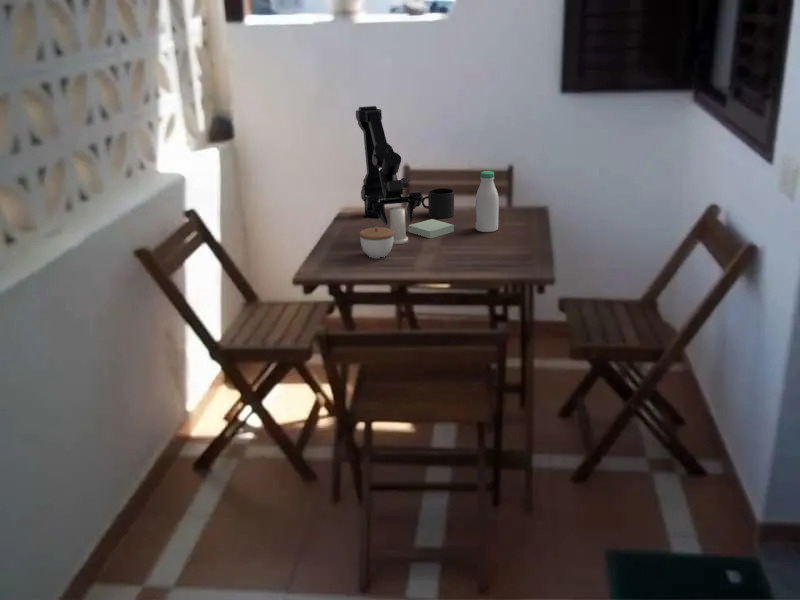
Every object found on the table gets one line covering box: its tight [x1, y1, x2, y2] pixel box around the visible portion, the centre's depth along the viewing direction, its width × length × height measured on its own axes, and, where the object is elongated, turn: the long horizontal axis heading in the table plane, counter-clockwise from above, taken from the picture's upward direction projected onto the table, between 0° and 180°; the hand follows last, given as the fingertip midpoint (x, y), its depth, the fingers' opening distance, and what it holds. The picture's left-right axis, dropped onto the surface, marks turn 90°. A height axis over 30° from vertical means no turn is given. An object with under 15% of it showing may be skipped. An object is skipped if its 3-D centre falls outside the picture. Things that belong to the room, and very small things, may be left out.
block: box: [408, 218, 455, 239], centre depth 298 cm, size 11×11×2 cm
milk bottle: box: [475, 170, 499, 233], centre depth 296 cm, size 8×8×20 cm
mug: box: [421, 187, 455, 219], centre depth 317 cm, size 9×12×9 cm
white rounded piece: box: [389, 206, 409, 245], centre depth 287 cm, size 6×6×11 cm
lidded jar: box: [359, 226, 394, 259], centre depth 274 cm, size 11×11×9 cm
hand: (398, 223), depth 286 cm, fingers open, 8 cm apart
